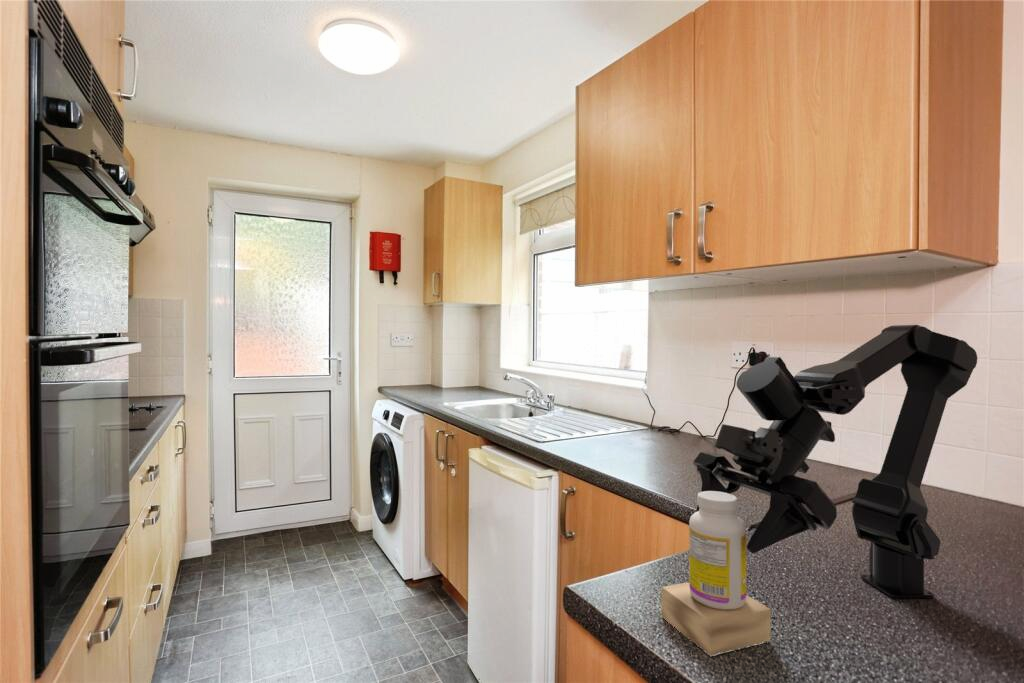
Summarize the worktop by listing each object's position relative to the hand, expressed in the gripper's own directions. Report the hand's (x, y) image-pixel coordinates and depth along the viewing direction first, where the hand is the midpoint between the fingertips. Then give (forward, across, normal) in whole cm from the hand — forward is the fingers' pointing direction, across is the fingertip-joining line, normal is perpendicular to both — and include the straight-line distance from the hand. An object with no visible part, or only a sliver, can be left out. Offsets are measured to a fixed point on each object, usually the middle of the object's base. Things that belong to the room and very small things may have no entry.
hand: (721, 536), depth 64 cm
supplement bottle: (+6, 0, +5) cm, 8 cm away
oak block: (+9, 0, +7) cm, 12 cm away
